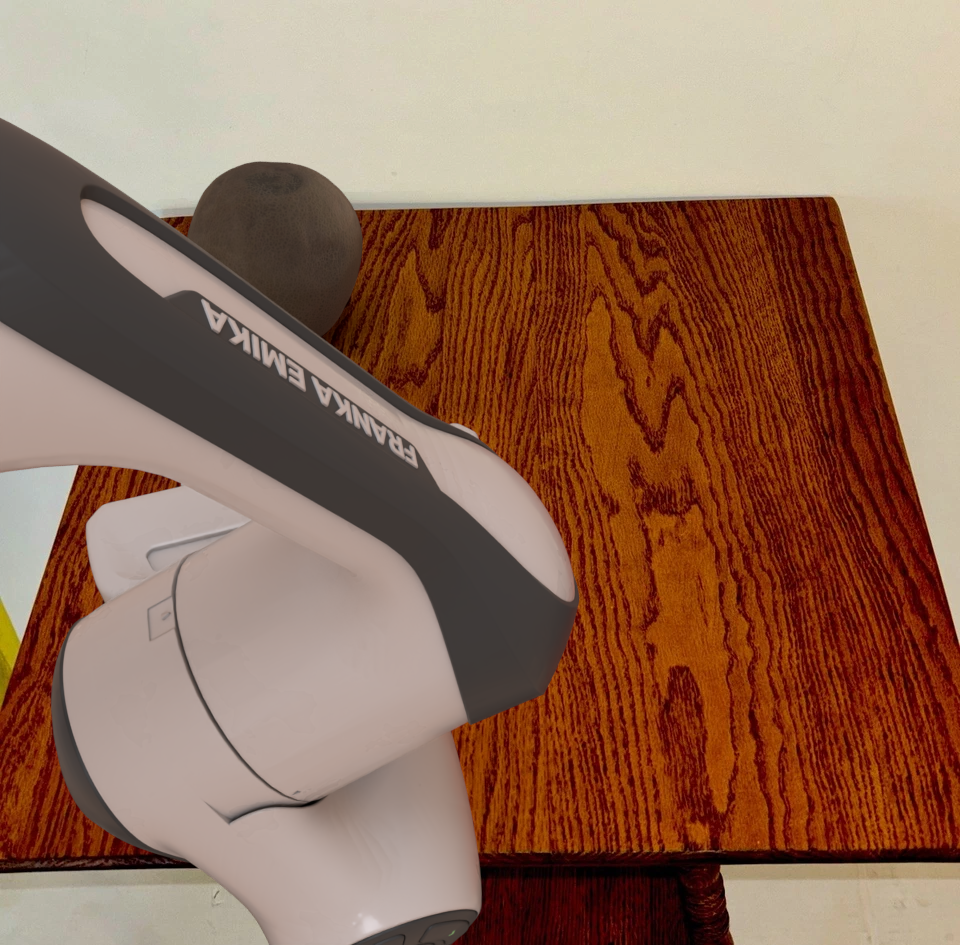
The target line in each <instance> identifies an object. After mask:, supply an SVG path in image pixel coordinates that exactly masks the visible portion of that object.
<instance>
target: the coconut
mask: <svg viewBox="0 0 960 945" xmlns="http://www.w3.org/2000/svg"><path fill="white" fill-rule="evenodd" d="M186 237H187V238H188V239H190V240H191V241H193V242H194V243H195V244H197V245H198V246H199V247H201V248H202V249H204V250H205V251H206V252H208V253H209V254H210V255H212V256H213V257H214V258H216V259H217V260H218V261H220V262H221V263H223V264H224V265H225V266H227V267H228V268H229V269H231V270H232V271H233V272H235V273H236V274H237V275H239V276H240V277H241V278H243V279H244V280H245V281H247V282H248V283H249V284H251V285H252V286H253V287H255V288H256V289H257V290H259V291H260V292H261V293H263V294H264V295H265V296H267V297H268V298H269V299H271V300H272V301H273V302H275V303H276V304H277V305H279V306H280V307H281V308H283V309H284V310H285V311H287V312H288V313H289V314H291V315H292V316H293V317H295V318H296V319H297V320H299V321H300V322H301V323H303V324H304V325H305V326H307V327H308V328H309V329H311V330H312V331H313V332H315V333H316V334H317V335H319V336H320V337H321V338H322V337H323V336H324V335H325V334H326V333H328V332H329V331H330V330H331V329H332V328H333V326H334V325H335V324H336V323H337V321H338V320H339V319H340V317H341V315H342V313H343V311H344V310H345V307H346V305H347V303H348V302H349V300H350V298H351V295H352V294H353V291H354V288H355V286H356V283H357V280H358V277H359V273H360V268H361V264H362V256H363V246H364V245H363V244H364V243H363V232H362V228H361V225H360V220H359V218H358V215H357V212H356V210H355V208H354V206H353V204H352V203H351V201H350V200H349V199H348V197H347V196H346V195H345V193H344V192H343V191H342V190H341V189H340V188H339V187H338V186H337V185H336V184H335V183H334V182H333V181H331V179H329V178H328V177H326V176H325V175H323V174H322V173H321V172H318V171H317V170H315V169H312V168H310V167H308V166H305V165H301V164H299V163H292V162H284V161H260V160H259V161H251V162H246V163H243V164H240V165H238V166H235V167H232V168H230V169H229V170H226V171H224V172H223V173H221V174H219V175H218V176H217V177H215V178H214V179H213V180H212V181H211V182H210V184H209V185H208V186H207V187H206V188H205V189H204V191H203V192H202V193H201V196H200V198H199V200H198V201H197V204H196V206H195V209H194V211H193V214H192V218H191V222H190V224H189V228H188V230H187V236H186Z"/></svg>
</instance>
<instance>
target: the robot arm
mask: <svg viewBox="0 0 960 945" xmlns="http://www.w3.org/2000/svg"><path fill="white" fill-rule="evenodd" d="M69 466H71V467H72V466H93V467H94V466H96V467H97V466H98V467H99V466H101V467H114V468H123V469H130V470H137V471H140V472H141V471H142V472H146V473H150V474H154V475H157V476H161V477H164V478H167V479H169V480H172V481H175V482H177V483H179V484H180V486H176V487H172V488H168V489H164V490H160V491H159V490H158V491H156V492H151V493H147V494H142V495H138V496H134V497H130V498H126V499H125V498H124V499H120V500H116V501H110V502H107V503H105V504H103V505H101V506H100V507H98V508H97V509H96V511H95V512H94V513H93V514H92V515H91V516H90V518H89V519H88V520H87V521H86V524H85V538H86V547H87V554H88V560H89V561H88V562H89V565H90V570H91V573H92V576H93V580H94V583H95V585H96V588H97V590H98V592H99V593H100V596H101V598H102V600H103V602H104V603H102V604H101V605H100V606H98V607H97V608H96V609H94V610H93V611H92V612H90V613H89V614H88V615H85V616H83V617H81V618H78V620H77V621H75V622H74V623H73V624H72V626H71V627H70V628H69V630H68V632H67V634H66V636H65V638H64V640H63V643H62V644H61V647H60V649H59V652H58V655H57V658H56V662H55V666H54V671H53V676H52V682H51V683H52V684H51V697H50V698H51V699H50V701H51V702H50V705H51V706H50V707H51V708H50V709H51V710H50V711H51V721H52V723H51V724H52V733H53V739H54V745H55V750H56V754H57V759H58V763H59V767H60V771H61V774H62V778H63V779H64V782H65V785H66V788H67V789H68V792H69V794H70V796H71V797H72V800H73V802H74V803H75V804H76V805H77V807H78V808H79V810H80V811H81V813H82V814H83V815H84V816H85V817H87V819H89V820H90V821H91V822H93V823H94V824H95V825H97V826H98V827H100V828H101V829H103V830H104V831H105V832H107V833H108V834H110V835H112V836H113V837H115V838H117V839H119V840H121V841H122V842H125V843H127V844H129V845H131V846H133V847H136V848H139V849H141V850H143V851H147V852H149V853H153V854H156V855H159V856H162V857H167V858H170V859H173V860H177V861H180V862H185V863H190V864H191V865H193V866H195V867H196V868H198V869H199V870H200V871H201V872H203V873H204V874H206V875H207V876H208V877H210V878H211V879H212V880H214V882H216V883H217V884H219V885H220V886H221V887H222V888H223V889H224V890H226V891H227V892H228V893H229V894H230V895H232V897H234V898H235V899H236V900H237V901H238V902H239V903H241V904H242V905H243V907H244V908H245V909H246V910H248V912H249V914H250V915H251V916H252V917H253V918H254V920H255V921H256V923H257V924H258V926H259V928H260V929H261V931H262V933H263V935H264V937H265V939H266V941H267V943H268V945H453V944H454V943H455V942H456V941H457V940H458V939H459V938H461V937H462V936H463V935H464V934H465V933H466V932H467V931H468V930H469V927H470V926H471V925H473V923H474V922H475V921H476V919H477V918H478V916H479V914H480V913H481V910H482V898H483V897H482V896H483V895H482V894H483V893H482V877H481V876H482V875H481V867H480V866H481V865H480V857H479V851H478V850H479V849H478V843H477V838H476V831H475V825H474V820H473V814H472V810H471V804H470V800H469V794H468V791H467V787H466V786H467V785H466V782H465V778H464V777H465V776H464V773H463V769H462V766H461V761H460V758H459V755H458V751H457V747H456V743H455V739H454V736H453V732H452V731H453V730H455V729H458V728H459V727H461V726H463V725H465V724H467V723H468V724H469V725H470V726H472V725H474V724H477V723H479V722H481V721H483V720H486V719H489V718H491V717H493V716H496V715H499V714H500V713H502V712H505V711H507V710H510V709H512V708H515V707H518V706H519V705H522V704H524V703H526V702H529V701H531V700H533V699H536V698H538V697H541V696H543V695H545V693H546V691H547V689H548V687H549V685H550V684H551V681H552V680H553V678H554V675H555V673H556V671H557V668H558V666H559V664H560V662H561V659H562V658H563V654H564V653H565V650H566V648H567V644H568V642H569V639H570V637H571V633H572V630H573V627H574V623H575V620H576V617H577V612H578V608H579V604H580V591H579V587H578V584H577V581H576V576H575V574H574V571H573V568H572V564H571V560H570V557H569V554H568V551H567V548H566V546H565V543H564V541H563V537H562V536H561V534H560V531H559V530H558V528H557V526H556V524H555V522H554V520H553V518H552V516H551V514H550V512H548V509H547V507H546V506H545V504H544V503H543V501H542V500H541V499H540V497H539V495H537V493H536V491H534V489H533V488H532V487H531V485H530V484H529V482H527V481H526V480H525V479H524V477H523V476H522V475H521V474H520V473H519V472H517V470H516V469H514V468H513V467H512V466H511V465H510V464H509V463H507V462H506V461H505V460H504V459H502V458H501V457H500V456H499V454H498V453H496V452H495V450H493V449H492V448H491V447H490V446H489V445H488V444H486V443H485V442H483V441H482V440H481V439H479V435H478V433H477V432H476V431H474V430H473V429H470V428H469V427H467V426H465V425H462V424H460V423H458V422H456V423H455V422H454V423H452V422H451V423H448V422H445V421H444V420H441V419H440V418H438V417H435V416H433V415H431V414H429V413H427V412H425V411H423V410H421V408H419V407H416V406H415V405H413V403H410V402H409V401H407V400H406V399H404V398H403V397H402V396H400V395H399V394H397V393H396V392H395V391H393V390H392V389H390V388H389V387H388V386H387V385H386V384H384V383H383V382H381V381H380V380H379V379H378V378H376V377H375V376H373V375H372V374H371V373H369V371H367V370H365V369H364V368H363V367H362V366H361V365H359V364H357V362H355V361H354V360H352V359H351V358H349V357H348V356H346V355H345V354H344V353H343V352H342V351H340V350H339V349H338V348H336V347H335V346H333V345H332V344H331V343H329V342H328V341H327V340H326V339H324V338H323V337H322V336H321V337H320V336H319V335H317V334H316V333H315V332H313V331H312V330H311V329H309V328H308V327H307V326H305V325H304V324H303V323H301V322H300V321H299V320H297V319H296V318H295V317H293V316H292V315H291V314H289V313H288V312H287V311H285V310H284V309H283V308H281V307H280V306H279V305H277V304H276V303H275V302H273V301H272V300H271V299H269V298H268V297H267V296H265V295H264V294H263V293H261V292H260V291H259V290H257V289H256V288H255V287H253V286H252V285H251V284H249V283H248V282H247V281H245V280H244V279H243V278H241V277H240V276H239V275H237V274H236V273H235V272H233V271H232V270H231V269H229V268H228V267H227V266H225V265H224V264H223V263H221V262H220V261H218V260H217V259H216V258H214V257H213V256H212V255H210V254H209V253H208V252H206V251H205V250H204V249H202V248H201V247H199V246H198V245H197V244H195V243H194V242H193V241H191V240H190V239H188V238H187V236H186V235H184V234H183V233H182V232H181V231H179V230H178V229H176V228H175V227H173V226H172V225H171V224H169V223H168V222H166V221H165V220H163V219H162V218H161V217H159V216H158V215H157V214H155V213H154V212H152V211H151V210H150V209H149V208H148V207H145V206H144V205H143V204H141V203H140V202H138V201H137V200H135V199H134V198H132V197H131V196H129V195H128V194H127V193H125V192H124V191H123V190H121V189H119V188H118V187H116V186H115V185H113V184H112V183H111V182H109V181H108V180H106V179H105V178H103V177H101V176H100V175H98V174H96V173H95V172H94V171H92V170H90V168H88V167H86V166H85V165H83V164H81V163H80V162H78V161H77V160H75V159H74V158H72V157H71V156H69V155H68V154H66V153H64V152H63V151H61V150H60V149H58V148H56V147H55V146H53V145H51V144H50V143H47V142H46V141H44V140H42V139H41V138H39V137H37V136H36V135H34V134H31V132H28V131H26V130H24V129H23V128H20V127H19V126H17V125H15V124H13V123H12V122H9V121H8V120H7V119H4V118H1V117H0V474H3V473H8V472H17V471H25V470H32V469H33V470H34V469H40V468H53V467H69Z"/></svg>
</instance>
